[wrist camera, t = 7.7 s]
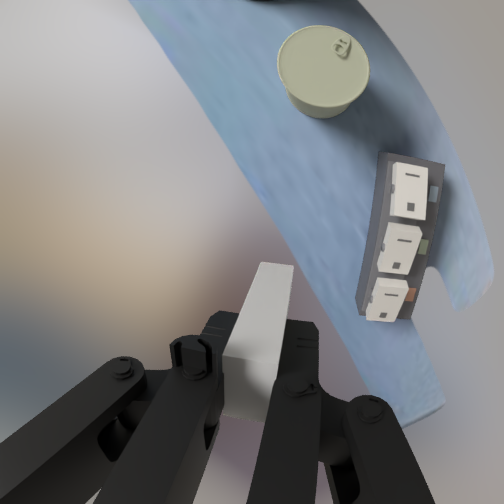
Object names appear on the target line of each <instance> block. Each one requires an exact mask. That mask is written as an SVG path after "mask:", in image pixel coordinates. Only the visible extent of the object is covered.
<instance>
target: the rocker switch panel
mask: <svg viewBox="0 0 504 504" xmlns="http://www.w3.org/2000/svg"><path fill="white" fill-rule="evenodd" d="M396 162H400V163H405V164H410V165H415V166H420V167H425V168H428V184H427V193H428V195H427V203H426V217H425V220H416V219H409V218H403V217H397V216H390V206H391V185H392V173H393V164H394V163H396ZM444 170H445V164H441V163H436V162H432V161H428V160H423V159H418V158H414V157H409V156H404V155H399V154H393V153H388V152H380V151H379V153H378V163H377V173H376V181H375V189H374V197H373V204H372V211H371V218H370V224H369V230H368V236H367V242H366V248H365V253H364V258H363V263H362V268H361V273H360V278H359V283H358V287H357V292H356V296H355V299H356V304H357V308H358V312H359V315H362V316H366V309H367V306H368V303H369V301H370V296H371V295H372V292H373V289H374V286H375V283H376V280H377V277H379V278H388V279H398V280H406V281H407V284H408V288H409V290H408V292H407V295H406V297H405V299H404V301H403V304H402V306H401V308H400V310H399V313H398V315H397V317H396V318H399V319H410V318H411V315H412V312H413V309H414V306H415V303H416V300H417V296H418V293H419V290H420V286H421V283H422V279H423V276H424V272H425V268H426V265H427V261H428V257H429V253H430V248H431V244H432V240H433V235H434V230H435V226H436V221H437V215H438V210H439V204H440V198H441V192H442V185H443V178H444ZM388 222H391V223H398V224H405V225H411V226H418V227H419V228H420V230H421V232H422V237H421V240H420V243H419V246H418V249H417V252H416V255H415V257H414V260H413V263H412V265H411V268H410V271H409V273H408V275H406V274H397V273H388V272H379V270H378V266H377V262H378V258H379V255H380V252H381V245H382V243H383V241H384V237H385V234H386V230H387V226H388Z"/></svg>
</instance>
